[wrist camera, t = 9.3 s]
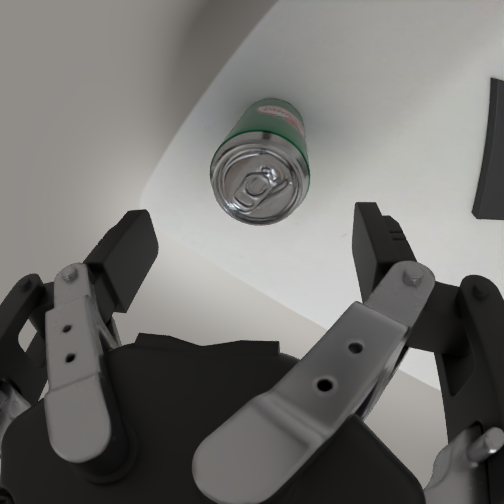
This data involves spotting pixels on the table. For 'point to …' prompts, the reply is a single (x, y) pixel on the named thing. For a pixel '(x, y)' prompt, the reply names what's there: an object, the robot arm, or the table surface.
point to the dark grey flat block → (492, 160)
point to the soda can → (262, 164)
